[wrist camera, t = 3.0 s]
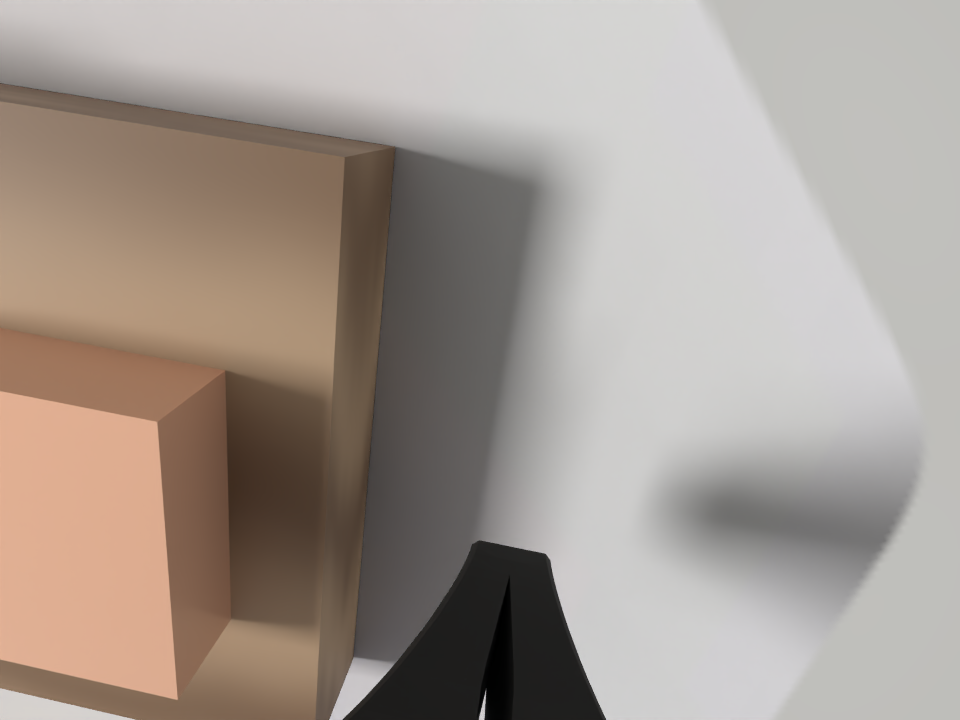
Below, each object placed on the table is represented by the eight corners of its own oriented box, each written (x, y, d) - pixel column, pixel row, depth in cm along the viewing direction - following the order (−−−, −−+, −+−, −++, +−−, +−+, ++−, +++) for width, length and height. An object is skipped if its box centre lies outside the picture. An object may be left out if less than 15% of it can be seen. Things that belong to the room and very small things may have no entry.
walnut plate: (353, 658, 18) (312, 760, 15) (-36, 573, 18) (-142, 655, 16) (395, 146, 12) (345, 157, 9) (-159, 58, 13) (-356, 43, 10)
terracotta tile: (230, 619, 13) (177, 700, 12) (-25, 563, 14) (-115, 633, 12) (225, 370, 11) (157, 421, 9) (-81, 312, 11) (-205, 351, 10)
